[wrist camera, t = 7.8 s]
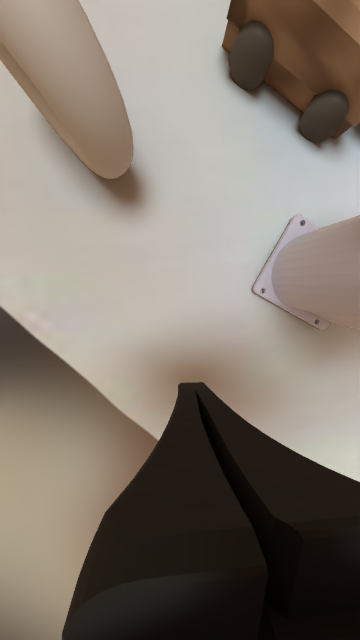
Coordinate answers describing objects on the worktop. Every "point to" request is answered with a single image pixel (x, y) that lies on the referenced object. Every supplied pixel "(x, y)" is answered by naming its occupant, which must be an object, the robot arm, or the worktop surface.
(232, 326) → the worktop surface
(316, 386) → the worktop surface
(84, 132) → the donut
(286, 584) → the robot arm
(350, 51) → the box
